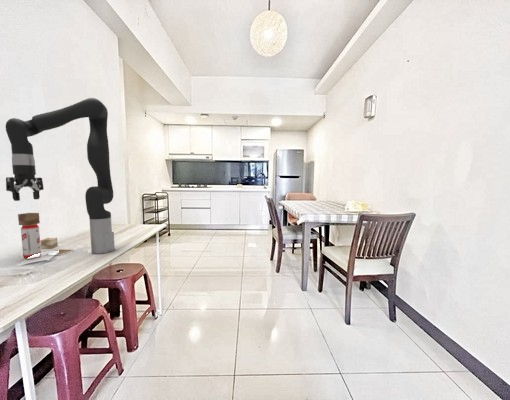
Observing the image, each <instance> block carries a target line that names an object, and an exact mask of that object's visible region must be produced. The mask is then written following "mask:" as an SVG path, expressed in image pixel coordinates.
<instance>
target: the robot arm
mask: <svg viewBox="0 0 510 400" xmlns="http://www.w3.org/2000/svg"><path fill="white" fill-rule="evenodd" d="M108 115H109V113H108V108H107V107H106V106H105V104H104V103H103V102H102V101H101V100H99V99H97V98H95V97H88V98H86V99H83V100H81V101H79V102H76V103H74V104H71V105H69V106H66V107H63V108H58V109H56V110H52V111H49V112H44V113H40V114H35V115H33V116H32V118H31V119H29V120H23V119H20V118H16V117H14V118H13V117H12V118H9V119H8V120H7V121H6V123H5V132H6V135H7V137H8V140H9V142H10V145H11V164H12V165H11V167H12V174H13V175H14V177H13V176H10V177H9V176H6V178H5V182H6V183H5V186H6V188H5V190H6V191H7V192H11V194H12V195H11V196H12V200H13V201H14V202H20V201H21V197H20V191H21V189H23V188H27V187H29V188H30V189H31V190H32V196H33V200H39V199H40V197H41V196H40V191H44V183H43V181H44V180H43V178H42V177H36V175H37V173H36V160H35V156H34V146H33V144H32V143H31V142H30V141H29V140H28V139H29V137H30V138H31V137H33V136H36V135H38V134H40V133H43V132H45V131H50V130H53V129H57V128H60V127H62V126H65V125H67V124H68V123H71V122H73V121H75V120H79V119H83V118H84V119H85V118H88V120H89V134H88V135H89V136H88V139H87V142H86V152H87V153H86V154H87V162H88V163H89V165H90V167H91V168H92V171H94V174H95V176H96V180H97V181H96V183H97V186H90V187H88V188H87V189H86V191H85V194H84V198H85V207H86V212H87V215H88V217H89V233H90V234H89V235H90V249H91V250H90V251H91V254H94V255H95V254H99V255H100V254H107V253H110V252H113V251H115V250H116V249H115V248H116V247H115V246H116V244H115V232H114V231H112V230H113V228H112V212H111V211H108V210H107V209H105V205H107V204H110V203H111V202H113V199H114V189H113V187H114V186H113V183H112V176H111V165H110V148H109V147H110V146H109V145H110V144H109V139H108V138H109V136H108Z"/></svg>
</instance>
